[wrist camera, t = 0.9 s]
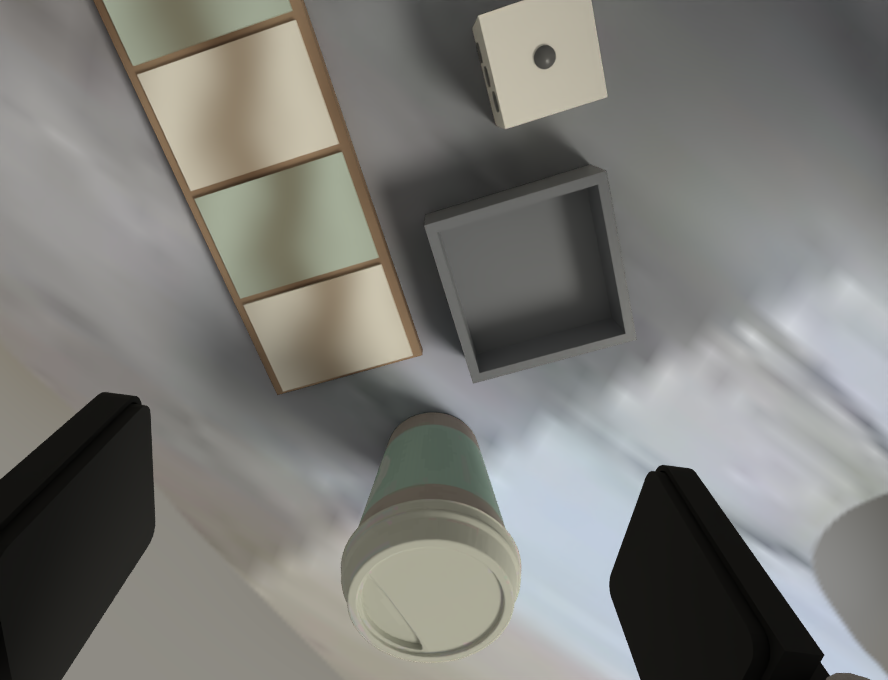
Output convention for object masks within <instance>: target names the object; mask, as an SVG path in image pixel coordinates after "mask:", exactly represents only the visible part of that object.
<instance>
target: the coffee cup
mask: <svg viewBox="0 0 888 680" xmlns="http://www.w3.org/2000/svg"><path fill="white" fill-rule="evenodd" d="M520 583H521V559H520V554H519V551H518V548H517V546H516V544H515V542H514V540H513V538H512V537H511V535H510V534H509V533H508V531H507V530H506V529H505V526H504V523H503V520H502V516H501V513H500V510H499V507H498V504H497V501H496V498H495V495H494V492H493V489H492V486H491V482H490V479H489V476H488V473H487V470H486V467H485V464H484V461H483V458H482V455H481V452H480V449H479V446H478V443H477V440H476V437H475V435H474V434H473V432H472V431H471V429H470V428H469V427H468V426H467V425H466V424H465V423H464V422H462V421H461V420H459V419H457V418H455V417H453V416H451V415H448V414H443V413H435V412H431V413H423V414H418V415H415V416H413V417H411V418H409V419H407V420H405V421H404V422H402V423H401V424H400V425H399V426H398V427H397V428H396V429H395V431H394V432H393V434H392V435H391V437H390V440H389V443H388V445H387V448H386V451H385V453H384V456H383V459H382V462H381V465H380V467H379V470H378V473H377V476H376V479H375V481H374V484H373V487H372V490H371V493H370V496H369V498H368V501H367V504H366V507H365V510H364V513H363V515H362V518H361V521H360V524H359V527H358V528H357V529H356V531H355V532H354V533H353V534H352V536H351V537H350V539H349V540H348V542H347V544H346V546H345V549H344V552H343V555H342V561H341V584H342V590H343V594H344V597H345V600H346V602H347V606H348V612H349V615H350V618H351V620H352V623H353V624H354V626H355V628H356V629H357V631H358V632H359V633H360V634H361V635H362V637H363V638H364V639H366V640H367V641H368V642H369V643H370V644H371V645H373V646H374V647H376V648H377V649H379V650H381V651H383V652H385V653H387V654H389V655H391V656H394V657H397V658H400V659H404V660H408V661H413V662H421V663H440V662H448V661H453V660H458V659H461V658H464V657H467V656H470V655H472V654H475V653H477V652H478V651H480V650H482V649H484V648H485V647H487V646H488V645H490V644H491V643H492V642H493V641H495V640H496V639H497V638H498V637H499V636H500V635H501V633H502V632H503V631H504V629H505V628H506V626H507V625H508V623H509V621H510V619H511V616H512V613H513V609H514V604H515V601H516V599H517V597H518V593H519V590H520Z"/></svg>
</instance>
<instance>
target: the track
mask: <svg viewBox="0 0 888 680" xmlns="http://www.w3.org/2000/svg"><path fill="white" fill-rule="evenodd" d="M93 1H94V3H95V5H96V7H97V9H98V12H99V14H100V16H101V18H102V20H103V22H104V24H105V27H106V29H107V31H108V33H109V35H110V37H111V39H112V42H113V44H114V46H115V48H116V50H117V52H118V54H119V57H120V59H121V61H122V63H123V65H124V67H125V69H126V72H127V74H128V76H129V78H130V80H131V82H132V84H133V87H134V89H135V91H136V93H137V95H138V97H139V99H140V102H141V104H142V106H143V108H144V110H145V112H146V114H147V117H148V119H149V121H150V123H151V125H152V127H153V129H154V132H155V134H156V136H157V138H158V140H159V142H160V144H161V147H162V149H163V151H164V153H165V155H166V157H167V159H168V162H169V164H170V166H171V168H172V170H173V172H174V174H175V177H176V179H177V181H178V183H179V185H180V187H181V189H182V192H183V194H184V196H185V198H186V200H187V202H188V204H189V207H190V209H191V211H192V213H193V215H194V217H195V219H196V222H197V224H198V226H199V228H200V230H201V232H202V234H203V237H204V239H205V241H206V243H207V245H208V247H209V249H210V252H211V254H212V256H213V258H214V260H215V262H216V264H217V267H218V269H219V271H220V273H221V275H222V277H223V279H224V282H225V284H226V286H227V288H228V290H229V292H230V294H231V297H232V299H233V301H234V303H235V305H236V307H237V309H238V312H239V314H240V316H241V318H242V320H243V322H244V324H245V327H246V329H247V331H248V333H249V335H250V337H251V339H252V342H253V344H254V346H255V348H256V350H257V352H258V354H259V357H260V359H261V361H262V363H263V365H264V367H265V369H266V372H267V374H268V376H269V378H270V380H271V382H272V384H273V387H274V389H275V391H276V393H277V395H279V394H283V393H287V392H290V391H294V390H298V389H301V388H305V387H308V386H312V385H316V384H319V383H323V382H326V381H330V380H334V379H337V378H341V377H345V376H348V375H352V374H355V373H359V372H363V371H366V370H370V369H374V368H377V367H381V366H384V365H388V364H392V363H395V362H399V361H402V360H406V359H410V358H413V357H417V356H421V355H422V351H423V349H422V346H421V343H420V340H419V337H418V334H417V331H416V329H415V326H414V323H413V320H412V317H411V314H410V311H409V308H408V305H407V302H406V299H405V296H404V293H403V290H402V288H401V285H400V282H399V279H398V276H397V273H396V270H395V267H394V264H393V261H392V258H391V255H390V252H389V249H388V246H387V244H386V241H385V238H384V235H383V232H382V229H381V226H380V223H379V220H378V217H377V214H376V211H375V208H374V205H373V203H372V200H371V197H370V194H369V191H368V188H367V185H366V182H365V179H364V176H363V173H362V170H361V167H360V164H359V161H358V159H357V156H356V153H355V150H354V147H353V144H352V141H351V138H350V135H349V132H348V129H347V126H346V123H345V120H344V117H343V115H342V112H341V109H340V106H339V103H338V100H337V97H336V94H335V91H334V88H333V85H332V82H331V79H330V76H329V74H328V71H327V68H326V65H325V62H324V59H323V56H322V53H321V50H320V47H319V44H318V41H317V38H316V35H315V32H314V30H313V27H312V24H311V21H310V18H309V15H308V12H307V9H306V6H305V3H304V0H93Z"/></svg>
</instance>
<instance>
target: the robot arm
mask: <svg viewBox="0 0 888 680" xmlns="http://www.w3.org/2000/svg"><path fill="white" fill-rule="evenodd" d="M154 529H155V505H154V482H153V459H152V436H151V414H150V409H149V407H148V406H145V405H142V404H141V401H140V399H139V398H138V397H137V396H131V395H124V394H116V393H108V392H102V393H100V394H99V395H97V396H96V397H95V398H94V399H93V400H92V401H90V402H89V403H88V404H87V405H86V406H85V407H83V408H82V409H81V410H80V411H79V412H78V413H77V414H75V415H74V416H73V417H72V418H71V419H70V420H68V421H67V422H66V423H65V424H64V425H63V426H62V427H60V428H59V429H58V430H57V431H56V432H55V433H53V434H52V435H51V436H50V437H49V438H48V439H47V440H46V441H44V442H43V443H42V444H41V445H40V446H38V447H37V448H36V449H35V450H34V451H33V452H31V453H30V454H29V455H28V456H27V457H26V458H25V459H24V460H22V461H21V462H20V463H19V464H18V465H17V466H15V467H14V468H13V469H12V470H11V471H10V472H8V473H7V474H6V475H5V476H4V477H3V478H1V479H0V680H61V679H62V678H63V677H64V675H65V673H66V672H67V670H68V669H69V667H70V666H71V664H72V663H73V661H74V659H75V658H76V656H77V655H78V654H79V652H80V650H81V649H82V647H83V646H84V644H85V643H86V641H87V640H88V638H89V637H90V635H91V633H92V632H93V630H94V629H95V627H96V626H97V624H98V623H99V621H100V619H101V618H102V616H103V615H104V613H105V612H106V610H107V609H108V607H109V606H110V604H111V603H112V601H113V599H114V598H115V596H116V595H117V593H118V592H119V590H120V589H121V587H122V586H123V584H124V583H125V581H126V579H127V578H128V576H129V575H130V573H131V572H132V570H133V569H134V567H135V565H136V564H137V562H138V561H139V559H140V558H141V556H142V555H143V553H144V552H145V550H146V549H147V547H148V545H149V544H150V542H151V539H152V537H153V533H154ZM609 588H610V595H611V598H612V601H613V604H614V606H615V609H616V612H617V615H618V618H619V621H620V623H621V626H622V629H623V632H624V635H625V637H626V640H627V643H628V646H629V649H630V651H631V654H632V657H633V660H634V663H635V665H636V668H637V671H638V674H639V677H640V679H641V680H870V679H868V678H865V677H861V676H858V675H855V674H851V673H835V674H833V675H831V676H830V675H829V674H828V672H827V671H826V669H825V668H824V666H823V665H822V664H821V660H822V658H823V657H824V654H823V652H822V651H821V650H820V648H819V647H818V645H817V644H816V642H815V641H814V640H813V638H812V637H811V635H810V634H809V632H808V631H807V630H806V628H805V627H804V625H803V624H802V623H801V621H800V620H799V618H798V617H797V615H796V614H795V613H794V611H793V610H792V608H791V607H790V606H789V604H788V603H787V601H786V600H785V598H784V597H783V596H782V594H781V593H780V591H779V590H778V589H777V587H776V586H775V584H774V583H773V581H772V580H771V579H770V577H769V576H768V574H767V573H766V572H765V570H764V569H763V567H762V566H761V564H760V563H759V562H758V560H757V559H756V557H755V556H754V554H753V553H752V552H751V550H750V549H749V547H748V546H747V545H746V543H745V542H744V540H743V539H742V537H741V536H740V535H739V533H738V532H737V530H736V529H735V528H734V526H733V525H732V523H731V522H730V520H729V519H728V518H727V516H726V515H725V513H724V512H723V511H722V509H721V508H720V506H719V505H718V503H717V502H716V501H715V499H714V498H713V496H712V495H711V494H710V492H709V491H708V489H707V488H706V486H705V485H704V484H703V482H702V481H701V479H700V478H699V476H698V475H697V474H696V472H695V471H694V470H693V469H690V468H683V467H675V466H667V465H661V466H659V467H658V468H657V469H656V471H651V472H649V473H648V474H647V476H646V478H645V481H644V484H643V487H642V489H641V492H640V495H639V498H638V500H637V503H636V506H635V509H634V511H633V514H632V517H631V520H630V523H629V525H628V528H627V531H626V534H625V536H624V539H623V542H622V545H621V548H620V550H619V553H618V556H617V559H616V561H615V564H614V567H613V570H612V573H611V576H610V582H609Z"/></svg>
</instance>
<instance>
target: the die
mask: <svg viewBox="0 0 888 680" xmlns="http://www.w3.org/2000/svg"><path fill="white" fill-rule="evenodd" d="M472 30H473V34H474V38H475V43H476V48H477V52H478V56H479V60H480V63H481V67H482V71H483V75H484V79H485V83H486V87H487V91H488V96H489V100H490V104H491V108H492V112H493V116H494V120H495V124H496V126H499V127H501V128H504V129H507V128H511V127H514V126H517V125H520V124H523V123H526V122H530V121H533V120H536V119H539V118H542V117H546V116H549V115H552V114H555V113H558V112H561V111H565V110H568V109H571V108H574V107H577V106H581V105H584V104H587V103H590V102H593V101H596V100H600V99H603V98H606V97H608V96H607V90H606V84H605V78H604V72H603V66H602V60H601V54H600V49H599V43H598V37H597V31H596V25H595V19H594V13H593V7H592V1H591V0H523V1H520V2H517V3H514V4H511V5H508V6H505V7H502V8H499V9H496V10H493V11H490V12H487V13H484V14H481V15H478V17H477V19H476V22H475V24H474V26H473V28H472Z"/></svg>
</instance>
